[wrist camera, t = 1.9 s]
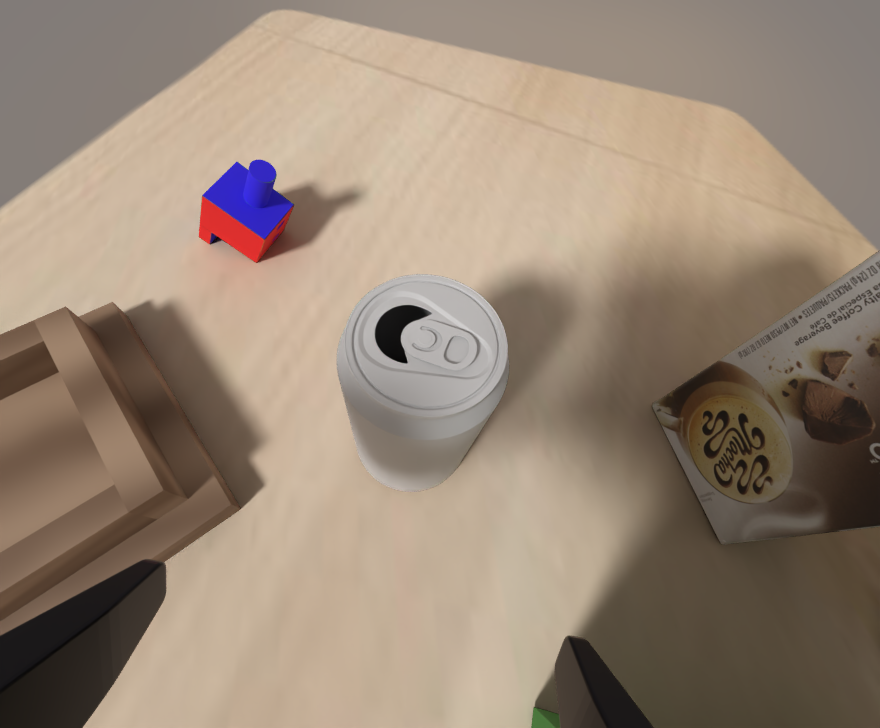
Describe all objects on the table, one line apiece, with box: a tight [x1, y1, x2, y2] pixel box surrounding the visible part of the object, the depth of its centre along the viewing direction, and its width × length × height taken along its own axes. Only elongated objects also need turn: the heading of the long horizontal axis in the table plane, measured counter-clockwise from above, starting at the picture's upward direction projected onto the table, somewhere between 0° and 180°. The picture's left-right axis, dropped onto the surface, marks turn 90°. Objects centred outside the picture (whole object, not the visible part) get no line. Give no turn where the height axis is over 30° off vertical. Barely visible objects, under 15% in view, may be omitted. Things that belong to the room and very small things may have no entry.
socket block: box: [0, 302, 241, 635], centre depth 20 cm, size 15×15×4 cm
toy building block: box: [199, 160, 294, 263], centre depth 28 cm, size 4×4×8 cm
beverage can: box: [337, 274, 509, 492], centre depth 19 cm, size 6×6×12 cm
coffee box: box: [652, 250, 880, 544], centre depth 19 cm, size 9×6×16 cm
